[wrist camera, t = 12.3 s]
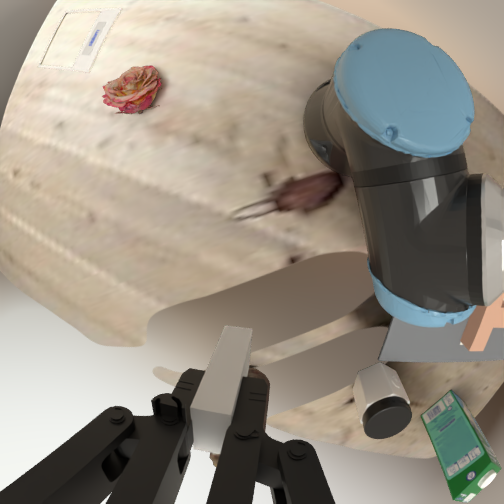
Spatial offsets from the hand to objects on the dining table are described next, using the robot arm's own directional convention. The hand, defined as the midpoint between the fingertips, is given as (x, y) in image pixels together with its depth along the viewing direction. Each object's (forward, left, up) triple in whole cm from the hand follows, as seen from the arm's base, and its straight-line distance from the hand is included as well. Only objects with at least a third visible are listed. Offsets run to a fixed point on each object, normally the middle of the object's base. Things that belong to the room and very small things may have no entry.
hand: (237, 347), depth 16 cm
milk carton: (+32, +45, -29) cm, 63 cm away
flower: (-22, -23, -29) cm, 43 cm away
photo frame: (-37, -43, -30) cm, 64 cm away
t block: (+7, +46, -29) cm, 55 cm away
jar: (+23, +23, -29) cm, 44 cm away
